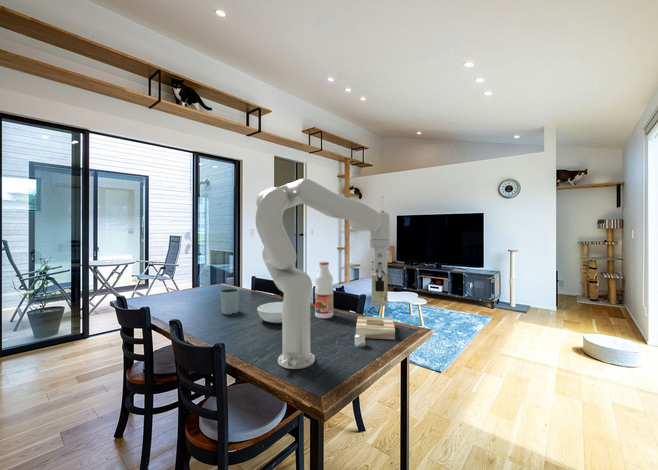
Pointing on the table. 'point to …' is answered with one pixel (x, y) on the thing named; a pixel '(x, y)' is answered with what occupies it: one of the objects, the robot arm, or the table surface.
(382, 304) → the skincare box
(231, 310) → the grey cup
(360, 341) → the short metal peg
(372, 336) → the plate
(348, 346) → the table surface
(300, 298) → the robot arm
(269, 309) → the serving bowl
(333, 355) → the table surface
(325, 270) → the fruit juice
